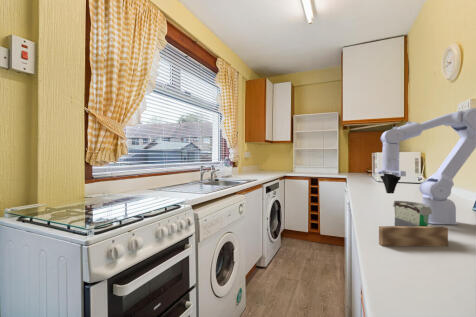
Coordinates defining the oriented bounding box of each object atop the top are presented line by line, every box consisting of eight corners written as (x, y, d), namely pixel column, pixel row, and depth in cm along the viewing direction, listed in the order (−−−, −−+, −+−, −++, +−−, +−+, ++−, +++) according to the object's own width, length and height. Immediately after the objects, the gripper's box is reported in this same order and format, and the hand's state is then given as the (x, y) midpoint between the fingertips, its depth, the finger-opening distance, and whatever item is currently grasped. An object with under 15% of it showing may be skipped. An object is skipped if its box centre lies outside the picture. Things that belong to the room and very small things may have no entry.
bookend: (397, 233, 75) (397, 217, 75) (421, 244, 65) (421, 226, 65) (378, 232, 75) (378, 217, 75) (400, 244, 65) (400, 226, 65)
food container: (443, 243, 66) (443, 207, 66) (421, 242, 66) (421, 207, 66) (411, 230, 78) (411, 200, 78) (393, 230, 78) (393, 200, 78)
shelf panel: (443, 244, 65) (443, 226, 65) (448, 246, 63) (447, 228, 63) (378, 243, 65) (378, 226, 65) (382, 245, 63) (382, 227, 63)
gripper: (370, 159, 100) (369, 190, 100) (392, 159, 86) (392, 195, 86) (386, 159, 100) (386, 190, 100) (411, 159, 86) (411, 196, 86)
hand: (390, 193), depth 93 cm, fingers closed
